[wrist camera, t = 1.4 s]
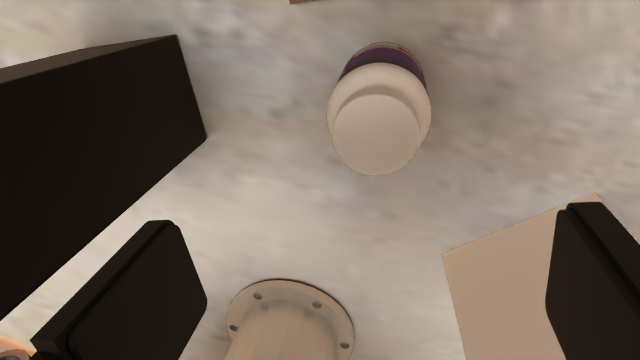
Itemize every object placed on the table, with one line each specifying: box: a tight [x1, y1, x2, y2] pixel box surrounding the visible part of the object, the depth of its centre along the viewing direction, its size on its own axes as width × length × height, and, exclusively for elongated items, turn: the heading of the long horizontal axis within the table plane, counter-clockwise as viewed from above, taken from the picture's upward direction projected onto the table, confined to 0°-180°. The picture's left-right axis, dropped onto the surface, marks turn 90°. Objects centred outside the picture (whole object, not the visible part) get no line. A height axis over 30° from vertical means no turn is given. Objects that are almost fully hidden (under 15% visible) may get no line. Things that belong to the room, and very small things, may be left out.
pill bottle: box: [327, 43, 431, 176], centre depth 22 cm, size 5×5×10 cm
